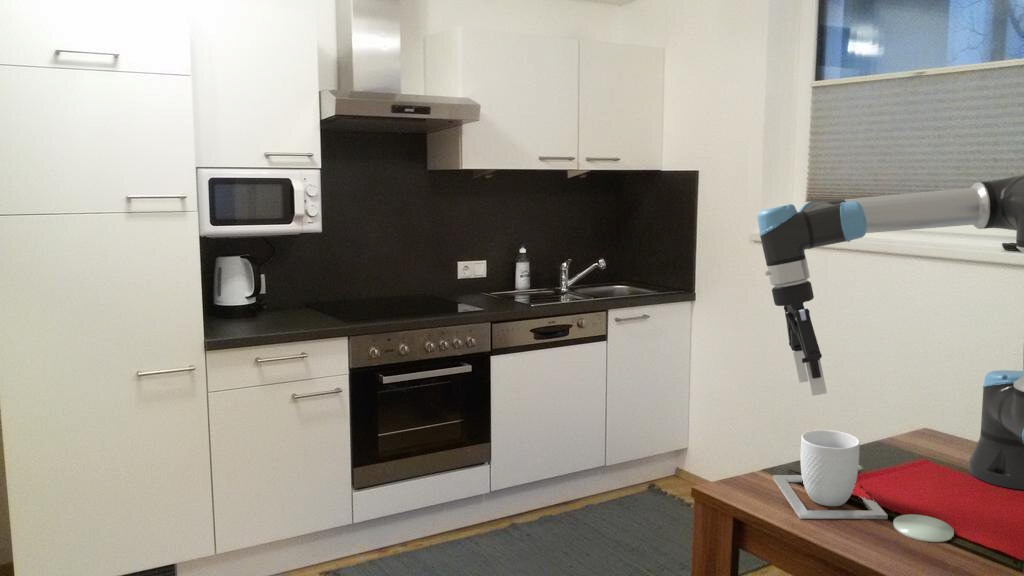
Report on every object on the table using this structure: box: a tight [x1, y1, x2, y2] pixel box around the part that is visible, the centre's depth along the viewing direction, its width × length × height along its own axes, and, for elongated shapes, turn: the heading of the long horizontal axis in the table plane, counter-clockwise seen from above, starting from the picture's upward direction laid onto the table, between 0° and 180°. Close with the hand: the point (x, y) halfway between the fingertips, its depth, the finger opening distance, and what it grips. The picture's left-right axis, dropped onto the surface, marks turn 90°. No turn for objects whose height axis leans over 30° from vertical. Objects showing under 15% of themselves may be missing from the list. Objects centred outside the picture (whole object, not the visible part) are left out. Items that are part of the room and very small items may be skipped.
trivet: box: [892, 513, 955, 543], centre depth 147 cm, size 10×10×1 cm
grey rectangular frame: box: [772, 474, 888, 520], centre depth 161 cm, size 16×20×1 cm
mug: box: [799, 429, 861, 507], centre depth 161 cm, size 15×11×13 cm
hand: (812, 387), depth 157 cm, fingers open, 13 cm apart
